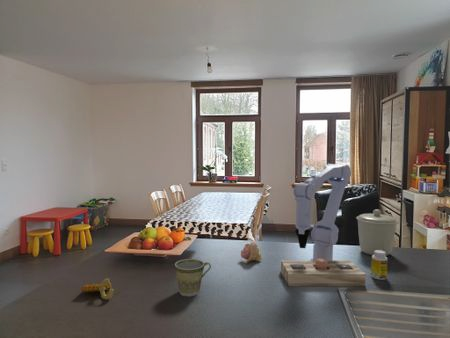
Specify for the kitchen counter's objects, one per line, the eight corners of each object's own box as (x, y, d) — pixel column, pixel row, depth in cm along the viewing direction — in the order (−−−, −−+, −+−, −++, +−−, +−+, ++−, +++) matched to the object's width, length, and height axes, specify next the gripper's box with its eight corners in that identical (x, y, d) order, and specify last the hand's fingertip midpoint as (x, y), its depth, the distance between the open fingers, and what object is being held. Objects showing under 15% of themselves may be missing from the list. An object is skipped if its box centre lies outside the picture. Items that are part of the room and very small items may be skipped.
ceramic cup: (180, 301, 106) (180, 271, 105) (170, 289, 115) (170, 261, 114) (216, 293, 112) (217, 264, 111) (204, 282, 121) (205, 255, 120)
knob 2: (336, 272, 128) (336, 264, 128) (347, 272, 128) (347, 264, 128) (340, 277, 124) (341, 268, 123) (352, 277, 124) (352, 268, 124)
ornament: (74, 277, 112) (98, 279, 103) (102, 275, 120) (127, 277, 111) (72, 298, 110) (96, 302, 101) (101, 295, 118) (126, 298, 109)
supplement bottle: (381, 281, 124) (382, 254, 123) (367, 276, 128) (369, 250, 127) (389, 278, 127) (390, 252, 126) (376, 273, 131) (377, 248, 131)
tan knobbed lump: (260, 258, 149) (269, 248, 143) (251, 274, 142) (260, 264, 136) (243, 246, 150) (251, 235, 144) (233, 262, 143) (241, 251, 137)
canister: (394, 262, 144) (397, 215, 143) (351, 254, 154) (353, 210, 152) (398, 251, 160) (400, 208, 158) (358, 245, 169) (360, 204, 168)
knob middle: (313, 267, 128) (314, 258, 127) (324, 267, 128) (325, 258, 127) (317, 271, 123) (317, 262, 123) (328, 271, 123) (329, 262, 123)
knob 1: (290, 272, 127) (290, 264, 127) (301, 272, 128) (302, 264, 127) (293, 277, 123) (293, 268, 123) (304, 277, 123) (305, 268, 123)
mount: (280, 271, 132) (281, 260, 132) (349, 271, 133) (349, 260, 133) (288, 286, 118) (289, 274, 118) (365, 286, 119) (365, 274, 119)
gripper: (313, 218, 121) (311, 254, 122) (315, 211, 134) (314, 243, 135) (293, 216, 123) (292, 252, 124) (297, 209, 137) (296, 241, 138)
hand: (302, 247), depth 130 cm, fingers closed
